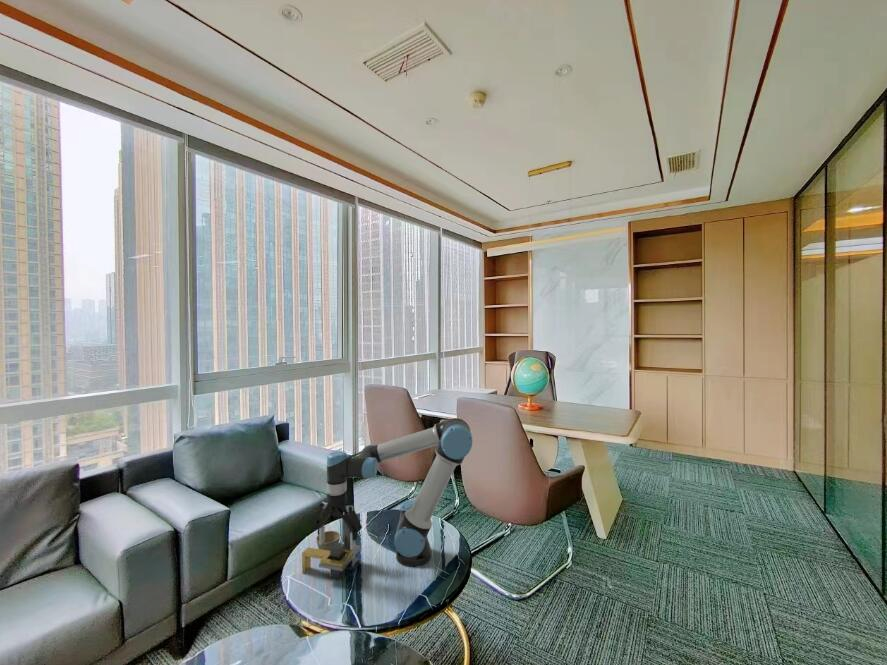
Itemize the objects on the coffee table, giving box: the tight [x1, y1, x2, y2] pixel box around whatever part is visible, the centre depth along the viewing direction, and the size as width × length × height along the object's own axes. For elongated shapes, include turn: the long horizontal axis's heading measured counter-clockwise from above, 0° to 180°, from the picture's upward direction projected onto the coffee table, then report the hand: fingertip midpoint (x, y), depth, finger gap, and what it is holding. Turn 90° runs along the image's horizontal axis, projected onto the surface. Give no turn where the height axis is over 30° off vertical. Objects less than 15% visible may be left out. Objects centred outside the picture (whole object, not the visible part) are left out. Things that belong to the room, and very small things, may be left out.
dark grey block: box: [329, 542, 346, 581], centre depth 151 cm, size 4×4×12 cm
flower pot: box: [315, 530, 341, 551], centre depth 167 cm, size 10×10×7 cm
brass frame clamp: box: [301, 509, 362, 575], centre depth 155 cm, size 20×16×22 cm
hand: (337, 545), depth 151 cm, fingers open, 13 cm apart
